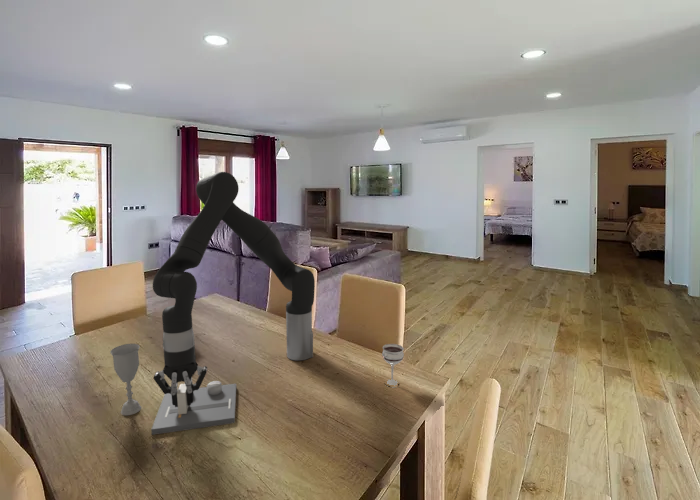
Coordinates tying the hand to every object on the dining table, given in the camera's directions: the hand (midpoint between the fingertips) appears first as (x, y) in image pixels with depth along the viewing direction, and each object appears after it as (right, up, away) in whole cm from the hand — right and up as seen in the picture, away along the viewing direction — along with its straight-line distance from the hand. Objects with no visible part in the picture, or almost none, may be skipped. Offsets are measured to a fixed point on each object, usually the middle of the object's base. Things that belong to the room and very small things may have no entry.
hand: (183, 404), depth 103 cm
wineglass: (+59, -1, +18) cm, 62 cm away
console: (+3, -3, +3) cm, 5 cm away
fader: (0, -1, 0) cm, 1 cm away
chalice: (-16, -3, +2) cm, 16 cm away
